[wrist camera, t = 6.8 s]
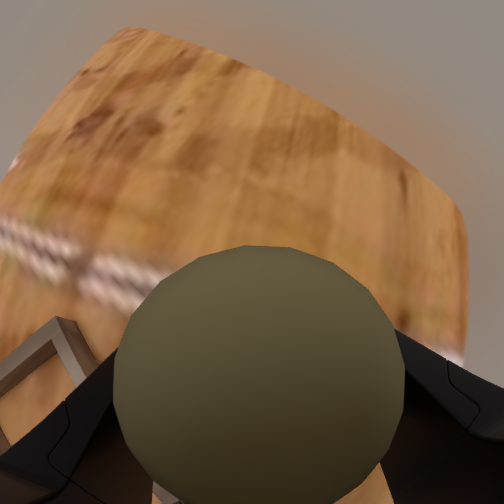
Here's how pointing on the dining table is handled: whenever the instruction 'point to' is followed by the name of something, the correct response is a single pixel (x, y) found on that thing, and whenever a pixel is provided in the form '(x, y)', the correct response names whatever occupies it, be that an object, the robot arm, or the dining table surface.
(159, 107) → the dining table surface
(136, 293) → the dining table surface
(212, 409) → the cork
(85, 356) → the frame
